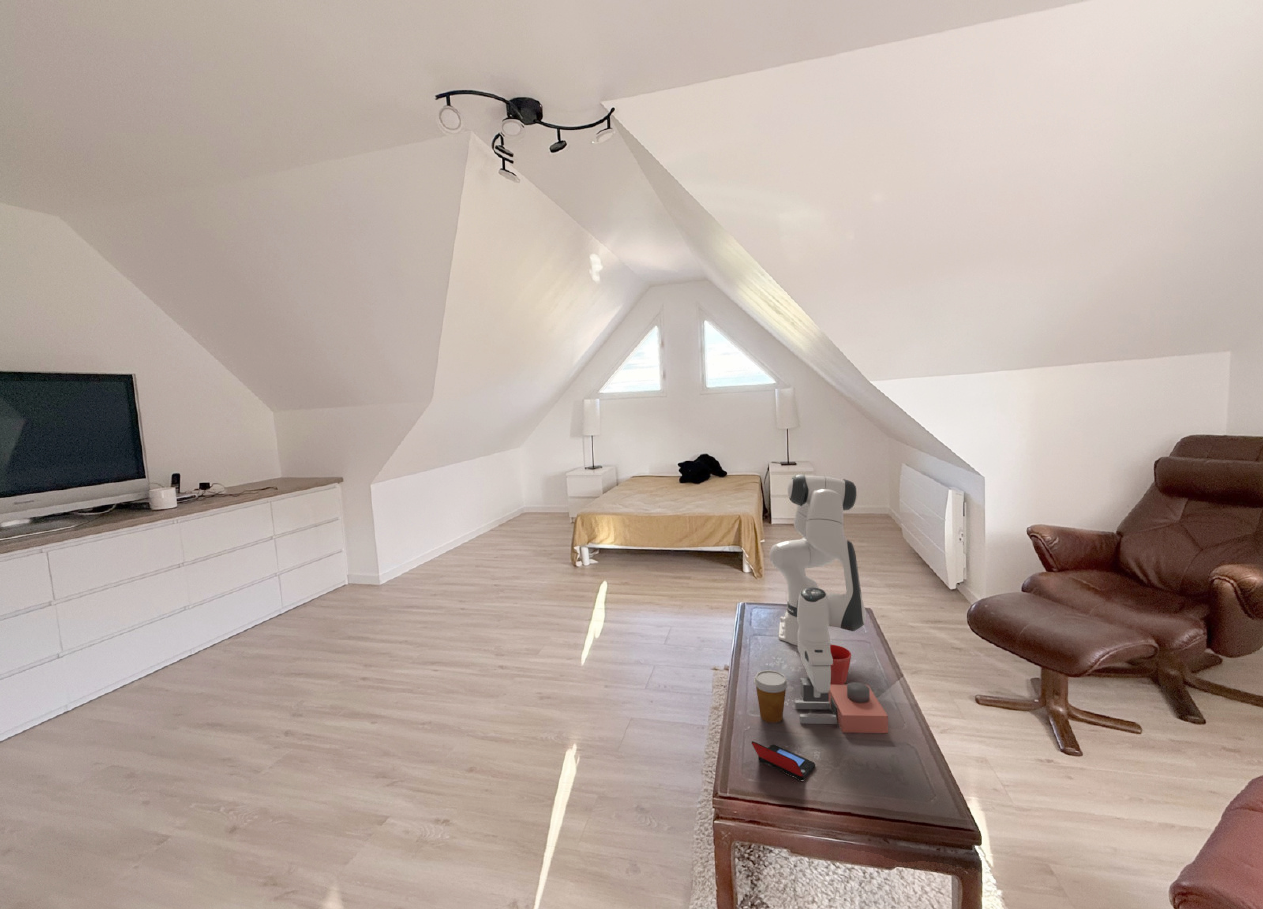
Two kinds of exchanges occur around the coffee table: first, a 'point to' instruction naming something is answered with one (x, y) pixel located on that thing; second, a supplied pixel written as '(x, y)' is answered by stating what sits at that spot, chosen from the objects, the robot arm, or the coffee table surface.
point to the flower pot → (839, 664)
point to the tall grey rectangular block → (811, 692)
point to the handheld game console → (784, 760)
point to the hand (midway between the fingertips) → (814, 691)
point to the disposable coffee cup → (771, 694)
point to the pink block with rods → (849, 709)
